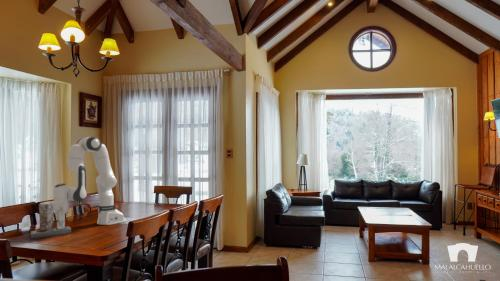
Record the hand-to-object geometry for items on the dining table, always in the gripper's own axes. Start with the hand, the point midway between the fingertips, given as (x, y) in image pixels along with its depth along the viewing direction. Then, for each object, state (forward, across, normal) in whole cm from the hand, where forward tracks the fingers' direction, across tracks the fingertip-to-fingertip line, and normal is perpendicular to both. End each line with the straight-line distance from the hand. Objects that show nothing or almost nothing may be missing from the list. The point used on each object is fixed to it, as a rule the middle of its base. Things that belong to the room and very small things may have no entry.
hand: (60, 226), depth 251 cm
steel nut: (+5, 0, 0) cm, 5 cm away
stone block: (+5, +20, +7) cm, 22 cm away
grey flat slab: (+5, 0, +6) cm, 7 cm away
